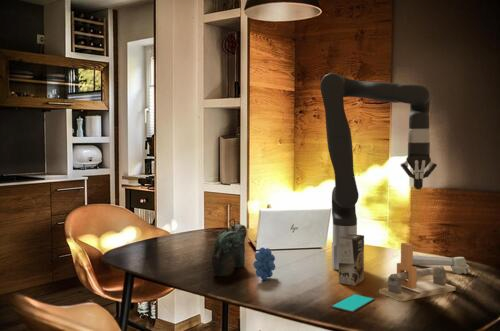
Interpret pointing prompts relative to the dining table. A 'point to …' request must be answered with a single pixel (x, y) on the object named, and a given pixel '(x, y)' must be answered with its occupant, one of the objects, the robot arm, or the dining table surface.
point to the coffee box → (351, 259)
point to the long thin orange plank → (407, 266)
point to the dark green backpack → (229, 248)
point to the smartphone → (352, 303)
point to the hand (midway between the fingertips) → (418, 189)
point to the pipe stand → (418, 285)
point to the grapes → (264, 263)
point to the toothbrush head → (443, 262)
